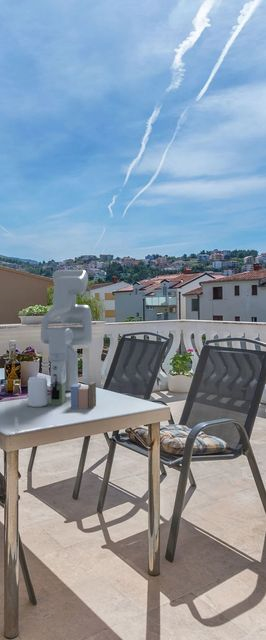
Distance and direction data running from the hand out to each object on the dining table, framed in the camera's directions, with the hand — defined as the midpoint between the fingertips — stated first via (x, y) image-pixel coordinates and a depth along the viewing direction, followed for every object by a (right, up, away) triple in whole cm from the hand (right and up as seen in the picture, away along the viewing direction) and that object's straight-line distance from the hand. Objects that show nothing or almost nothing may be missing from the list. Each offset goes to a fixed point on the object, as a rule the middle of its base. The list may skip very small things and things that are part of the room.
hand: (58, 397), depth 220 cm
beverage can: (-8, -3, -4) cm, 10 cm away
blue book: (+8, -3, -6) cm, 11 cm away
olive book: (0, -3, 0) cm, 3 cm away
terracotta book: (+12, -3, -6) cm, 14 cm away
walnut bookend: (+15, -3, -7) cm, 17 cm away
